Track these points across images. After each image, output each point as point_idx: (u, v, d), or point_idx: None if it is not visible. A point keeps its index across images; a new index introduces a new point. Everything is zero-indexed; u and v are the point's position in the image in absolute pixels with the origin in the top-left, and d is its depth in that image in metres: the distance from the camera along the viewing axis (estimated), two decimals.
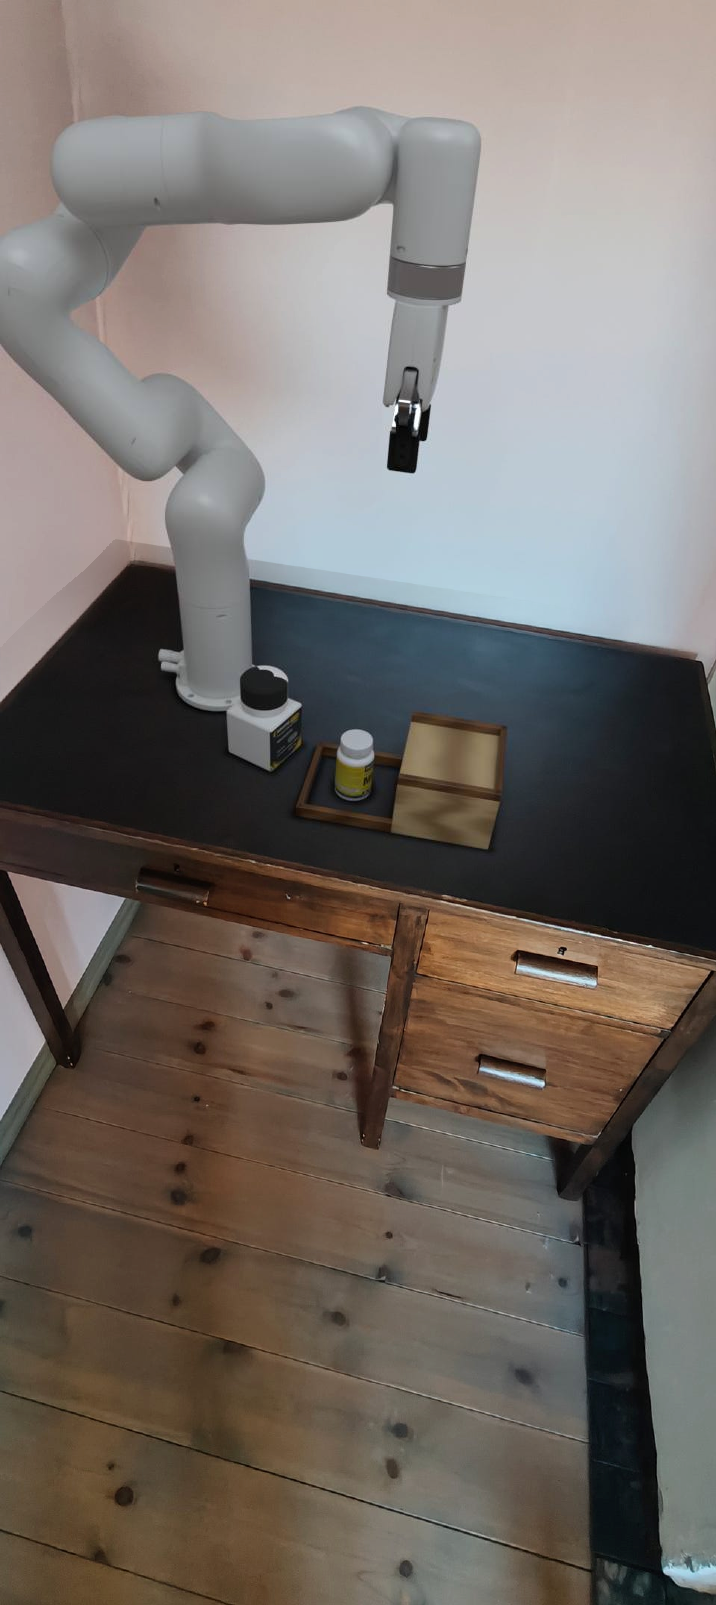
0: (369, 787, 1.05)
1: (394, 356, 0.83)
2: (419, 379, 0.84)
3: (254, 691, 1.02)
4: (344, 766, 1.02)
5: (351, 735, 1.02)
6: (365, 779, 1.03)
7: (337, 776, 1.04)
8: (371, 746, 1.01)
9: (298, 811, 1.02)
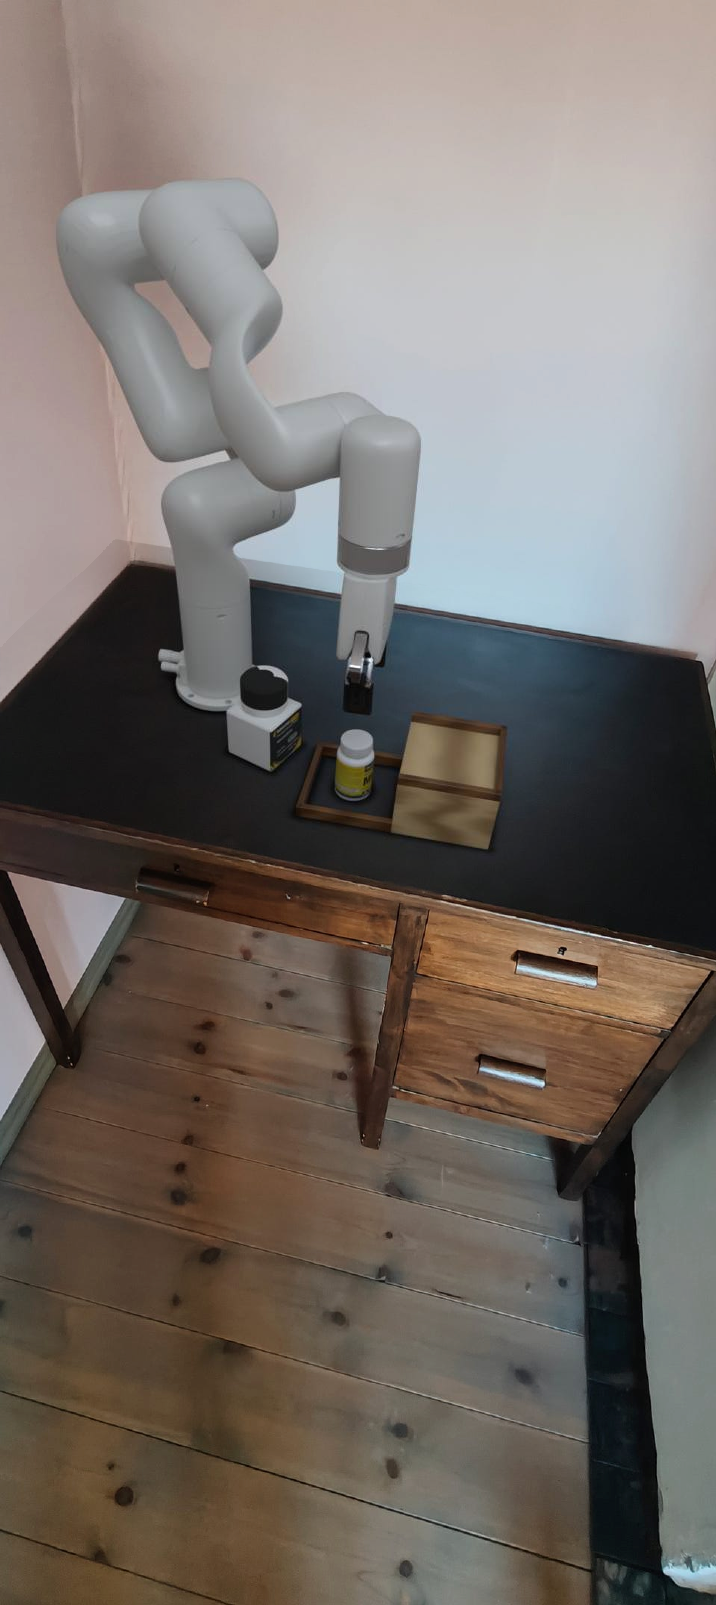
0: (369, 787, 1.05)
1: (345, 621, 0.85)
2: (370, 641, 0.86)
3: (254, 691, 1.02)
4: (344, 766, 1.02)
5: (351, 735, 1.02)
6: (365, 779, 1.03)
7: (337, 776, 1.04)
8: (371, 746, 1.01)
9: (298, 811, 1.02)
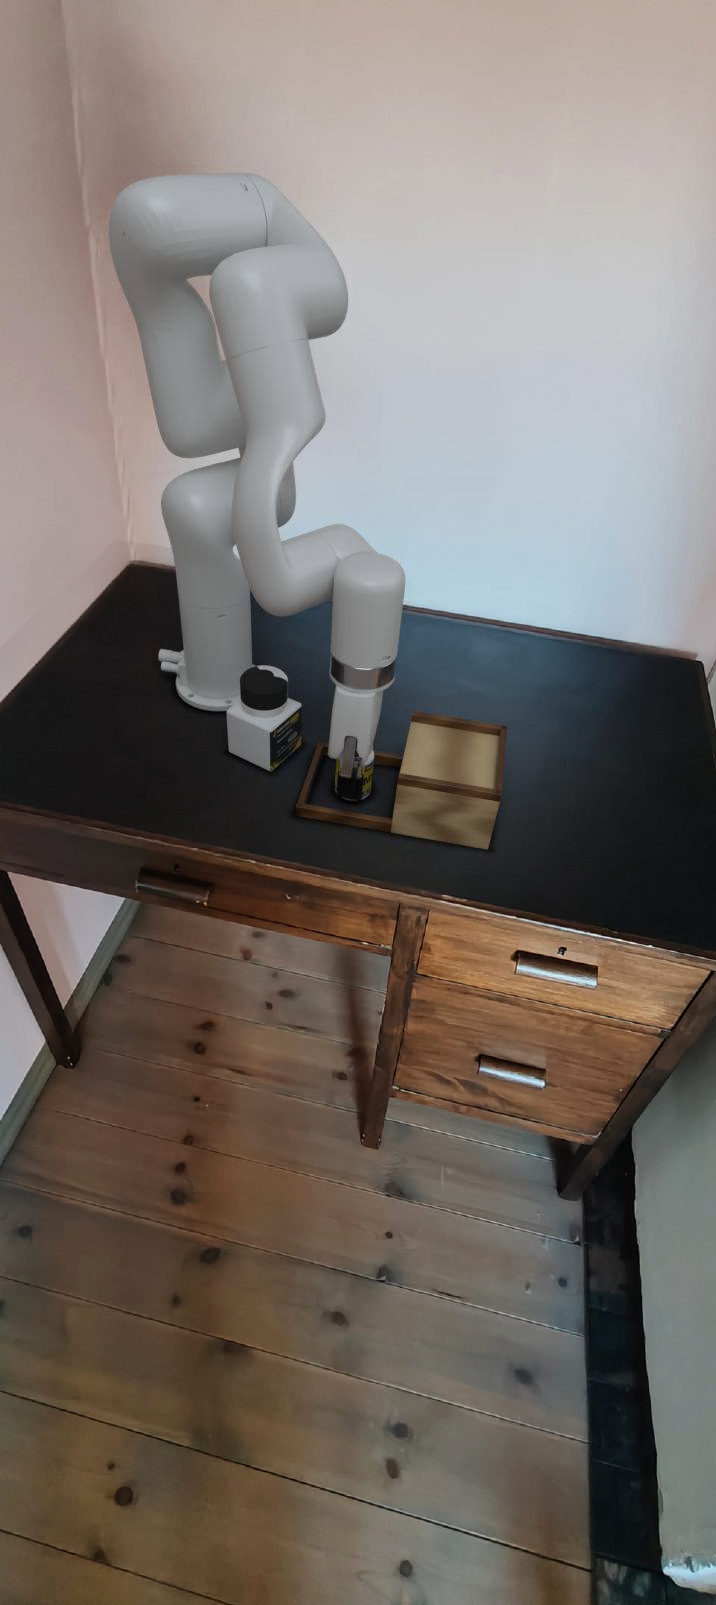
0: (369, 787, 1.05)
1: (336, 728, 0.94)
2: (358, 744, 0.95)
3: (254, 690, 1.02)
4: None
5: None
6: (365, 779, 1.03)
7: (337, 776, 1.04)
8: None
9: (298, 811, 1.02)
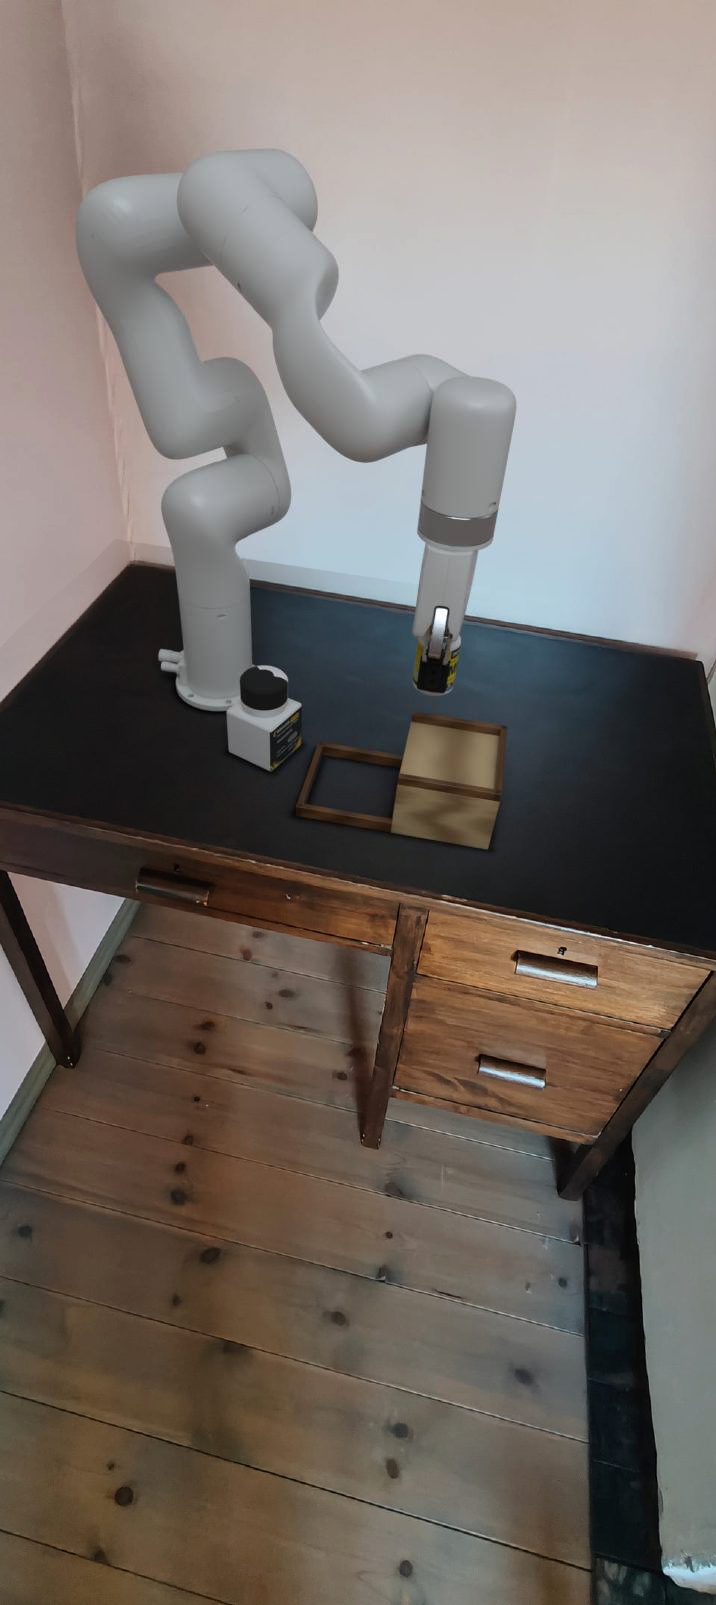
0: (453, 680, 0.92)
1: (424, 596, 0.81)
2: (450, 617, 0.82)
3: (254, 690, 1.02)
4: None
5: None
6: (451, 668, 0.90)
7: (417, 666, 0.91)
8: None
9: (298, 811, 1.02)
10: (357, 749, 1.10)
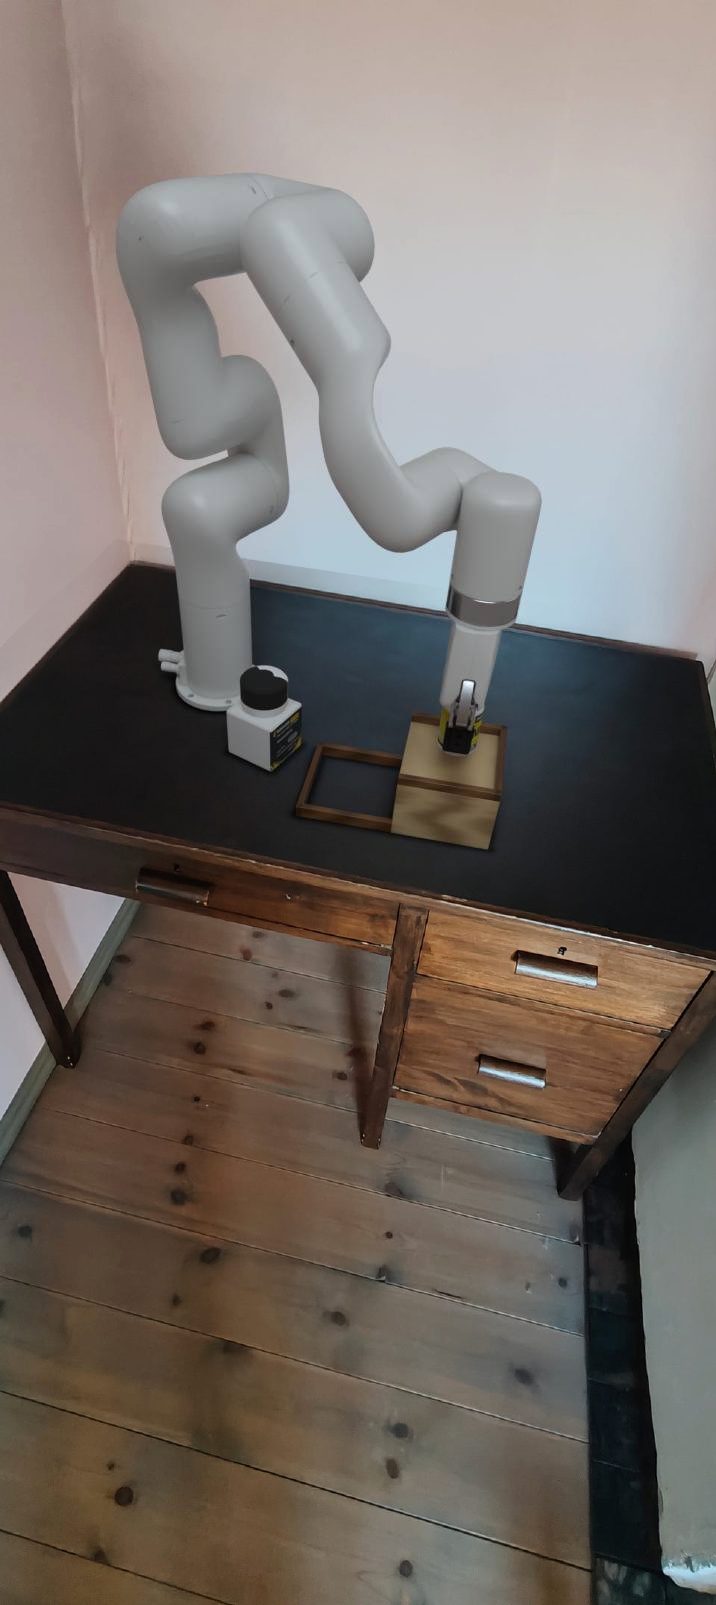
0: (476, 741, 0.97)
1: (453, 670, 0.86)
2: (476, 689, 0.87)
3: (254, 690, 1.02)
4: None
5: None
6: (474, 731, 0.95)
7: (443, 729, 0.96)
8: None
9: (298, 811, 1.02)
10: (357, 749, 1.10)
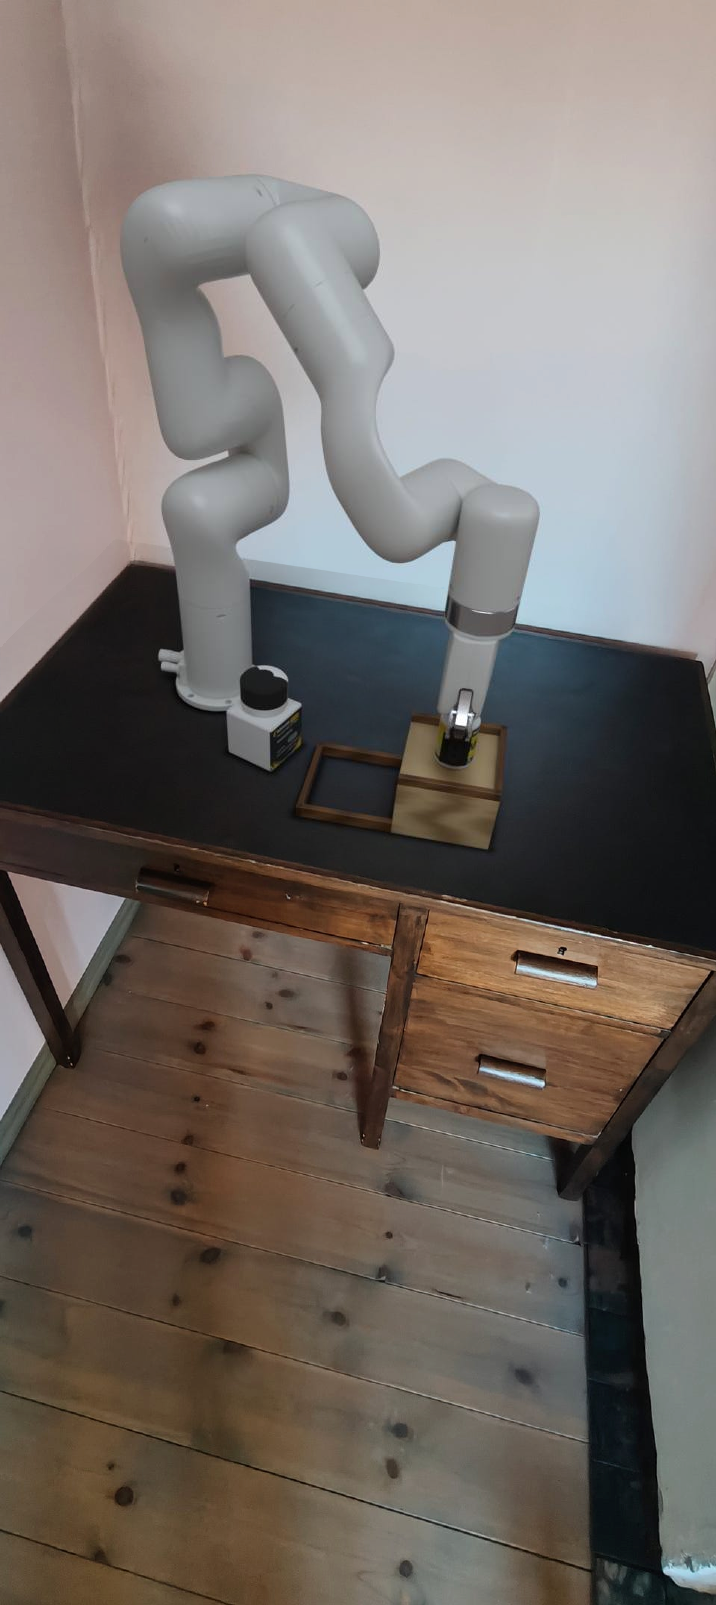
0: (473, 754, 0.99)
1: (450, 679, 0.87)
2: (473, 698, 0.88)
3: (254, 690, 1.02)
4: None
5: None
6: (471, 745, 0.97)
7: (440, 742, 0.97)
8: None
9: (298, 811, 1.02)
10: (357, 749, 1.10)
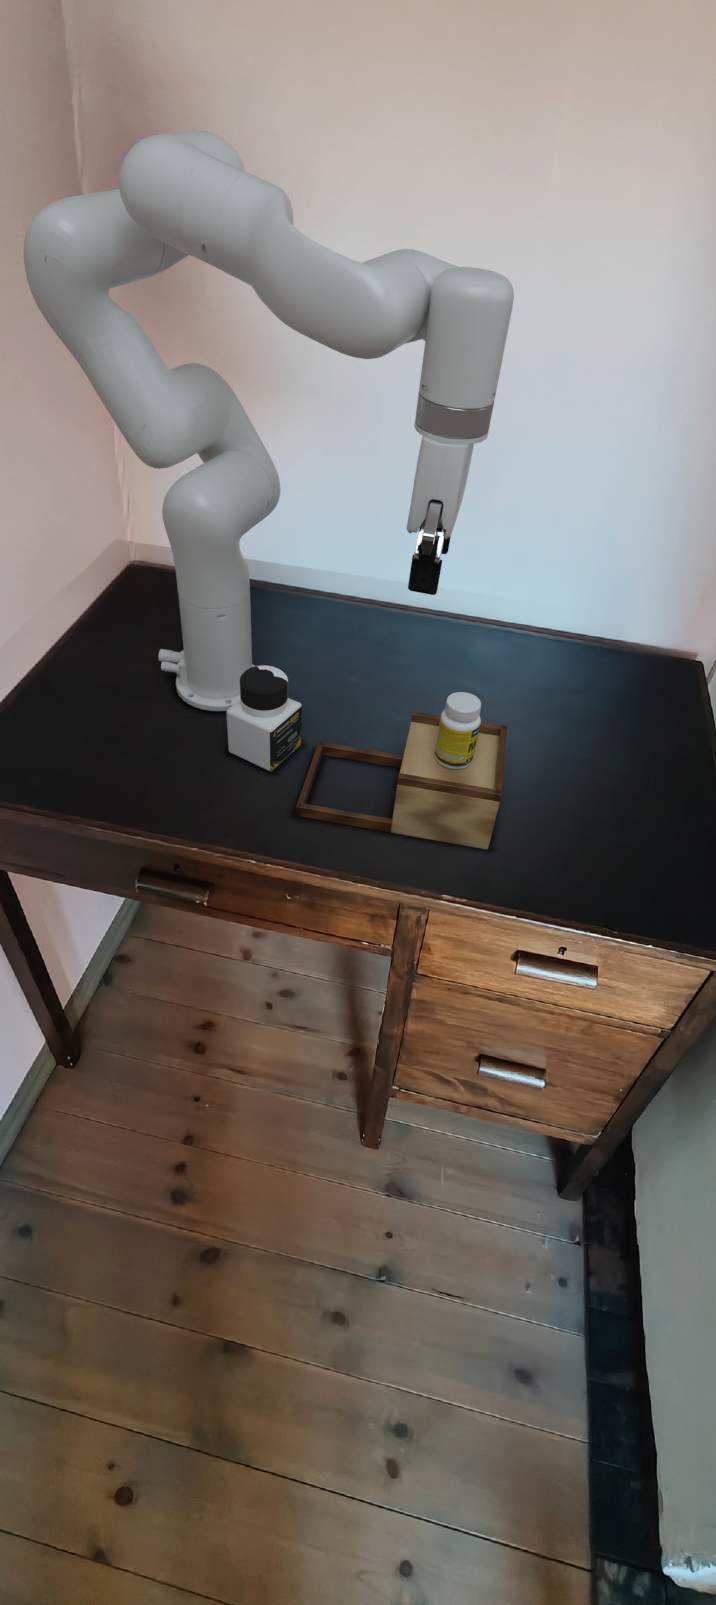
0: (473, 754, 0.99)
1: (419, 489, 0.83)
2: (443, 511, 0.84)
3: (254, 690, 1.02)
4: (449, 730, 0.95)
5: (457, 698, 0.95)
6: (471, 745, 0.97)
7: (440, 742, 0.97)
8: (479, 709, 0.94)
9: (298, 811, 1.02)
10: (357, 749, 1.10)
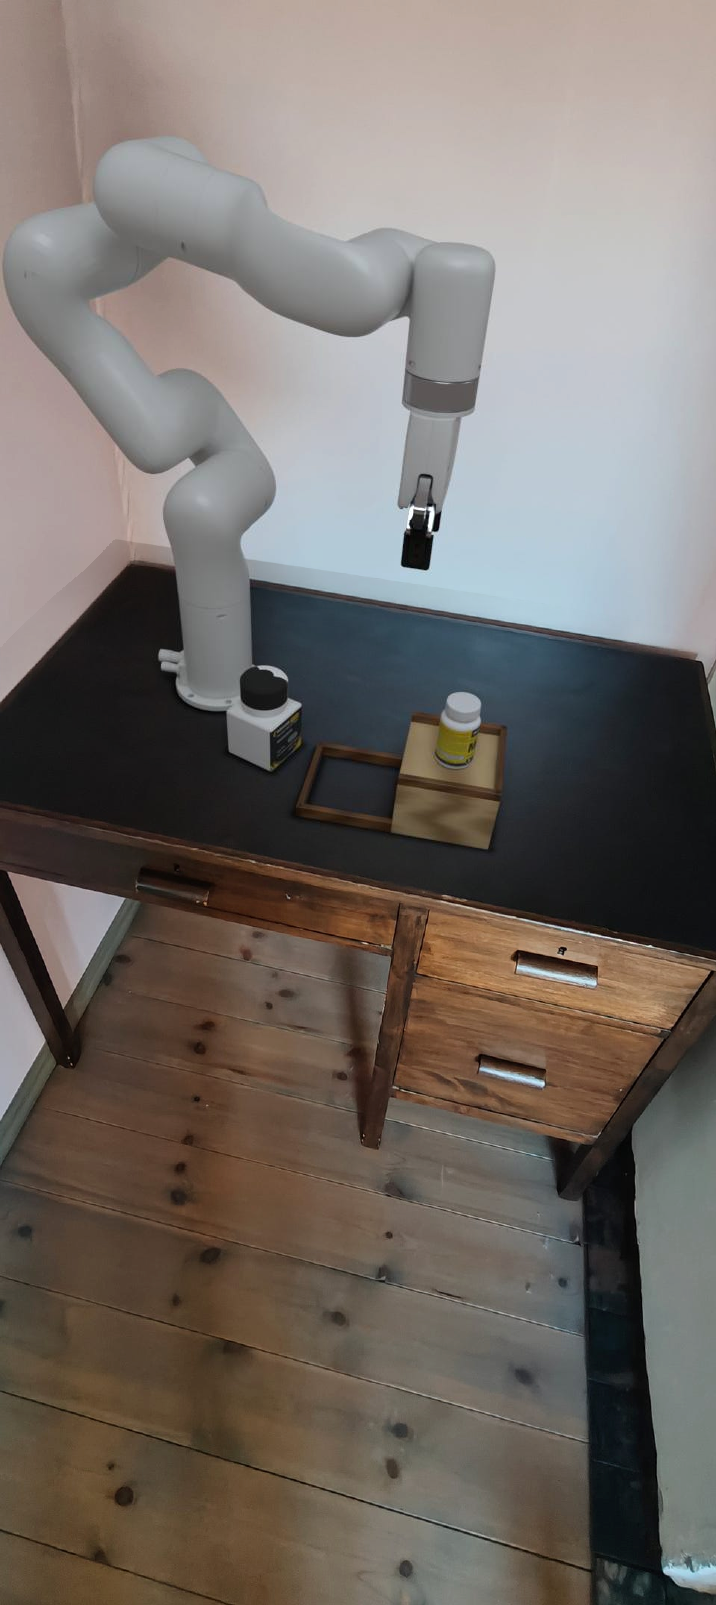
0: (473, 754, 0.99)
1: (409, 464, 0.85)
2: (433, 485, 0.85)
3: (254, 690, 1.02)
4: (449, 730, 0.95)
5: (457, 698, 0.95)
6: (471, 745, 0.97)
7: (440, 742, 0.97)
8: (479, 709, 0.94)
9: (298, 811, 1.02)
10: (357, 749, 1.10)
